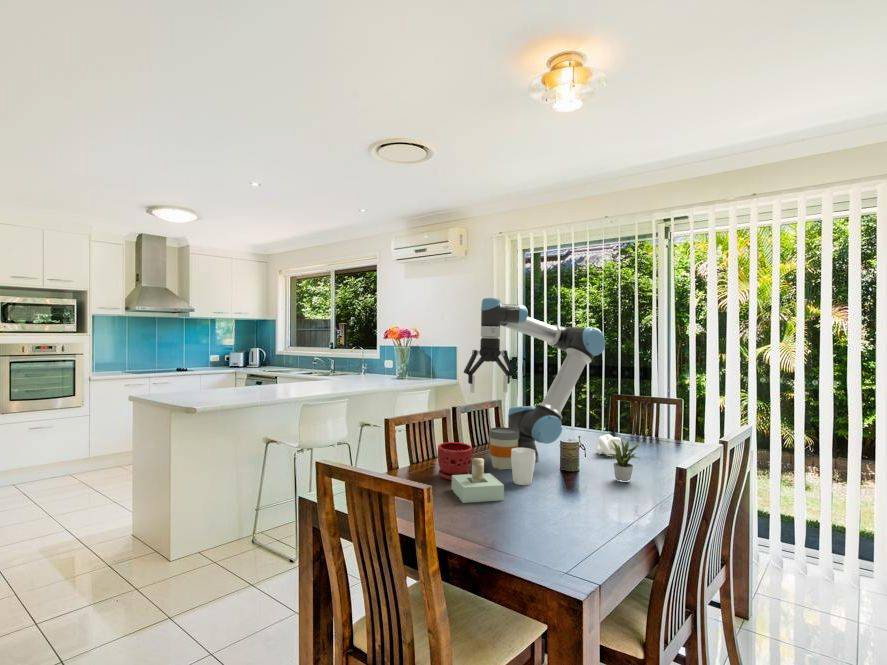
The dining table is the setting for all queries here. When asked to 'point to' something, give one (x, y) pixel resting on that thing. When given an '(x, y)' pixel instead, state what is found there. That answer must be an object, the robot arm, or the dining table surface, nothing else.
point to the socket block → (477, 488)
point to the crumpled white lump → (604, 446)
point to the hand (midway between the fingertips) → (488, 392)
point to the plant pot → (454, 459)
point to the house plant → (623, 461)
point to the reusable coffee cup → (502, 446)
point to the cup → (522, 465)
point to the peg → (477, 470)
